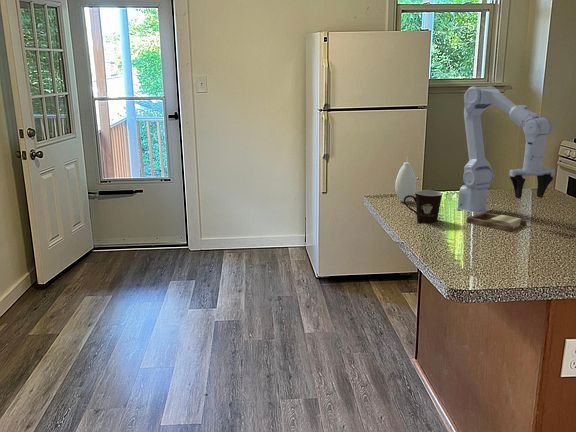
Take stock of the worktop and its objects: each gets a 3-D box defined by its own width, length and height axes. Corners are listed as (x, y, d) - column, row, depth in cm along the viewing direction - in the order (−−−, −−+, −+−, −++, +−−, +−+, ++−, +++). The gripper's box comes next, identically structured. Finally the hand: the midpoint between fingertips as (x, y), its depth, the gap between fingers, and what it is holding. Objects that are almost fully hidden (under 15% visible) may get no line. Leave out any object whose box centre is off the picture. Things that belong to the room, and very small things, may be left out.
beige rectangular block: (489, 225, 175) (490, 218, 174) (501, 221, 180) (501, 214, 179) (509, 230, 170) (510, 222, 170) (520, 225, 175) (521, 218, 175)
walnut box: (466, 224, 179) (467, 217, 179) (483, 218, 186) (483, 212, 186) (510, 233, 168) (511, 227, 168) (526, 227, 176) (526, 220, 175)
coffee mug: (444, 221, 182) (446, 192, 179) (432, 227, 176) (434, 197, 173) (414, 215, 190) (415, 187, 187) (401, 220, 184) (402, 191, 181)
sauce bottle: (416, 204, 206) (419, 157, 202) (396, 204, 206) (398, 157, 202) (412, 199, 214) (415, 154, 209) (392, 199, 214) (395, 154, 209)
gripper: (519, 158, 167) (514, 201, 171) (562, 157, 169) (556, 199, 173) (507, 155, 174) (503, 196, 178) (549, 154, 176) (543, 194, 180)
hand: (528, 197), depth 176 cm, fingers open, 7 cm apart
